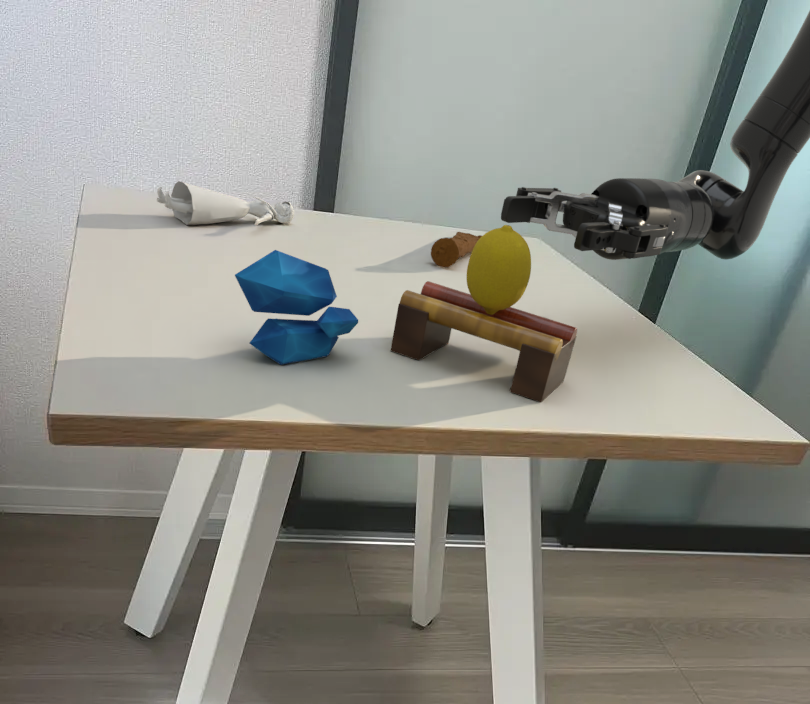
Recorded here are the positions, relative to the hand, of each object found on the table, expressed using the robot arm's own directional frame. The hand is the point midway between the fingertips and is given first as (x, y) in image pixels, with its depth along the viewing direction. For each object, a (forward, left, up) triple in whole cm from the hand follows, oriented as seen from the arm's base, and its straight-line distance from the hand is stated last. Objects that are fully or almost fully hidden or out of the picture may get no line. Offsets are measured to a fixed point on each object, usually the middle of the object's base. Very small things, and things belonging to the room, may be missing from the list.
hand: (541, 223), depth 79 cm
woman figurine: (+44, -16, -13) cm, 48 cm away
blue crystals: (+15, +16, -13) cm, 25 cm away
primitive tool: (+20, -34, -13) cm, 41 cm away
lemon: (+2, +4, -8) cm, 9 cm away
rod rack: (+2, +4, -13) cm, 14 cm away
